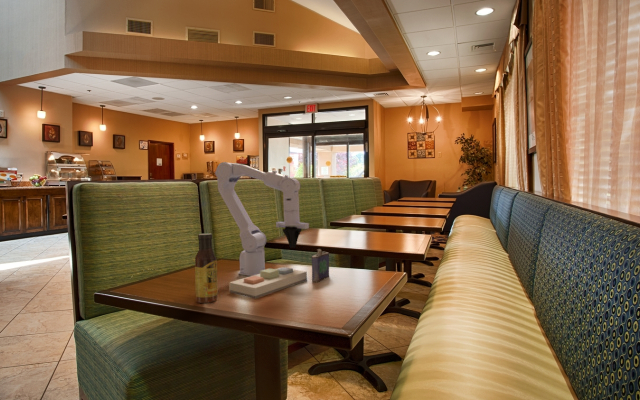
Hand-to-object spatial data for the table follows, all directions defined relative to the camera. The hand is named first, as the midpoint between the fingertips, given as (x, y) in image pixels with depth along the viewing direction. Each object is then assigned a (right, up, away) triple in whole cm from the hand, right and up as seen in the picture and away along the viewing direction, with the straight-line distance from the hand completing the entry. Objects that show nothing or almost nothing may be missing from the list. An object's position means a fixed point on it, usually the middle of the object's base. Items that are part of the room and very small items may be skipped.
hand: (292, 247), depth 136 cm
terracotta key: (-11, -10, -19) cm, 24 cm away
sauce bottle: (-23, -13, -27) cm, 38 cm away
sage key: (-7, -9, -13) cm, 17 cm away
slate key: (-2, -9, -8) cm, 12 cm away
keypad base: (-7, -11, -13) cm, 19 cm away
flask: (+10, -11, -6) cm, 16 cm away
